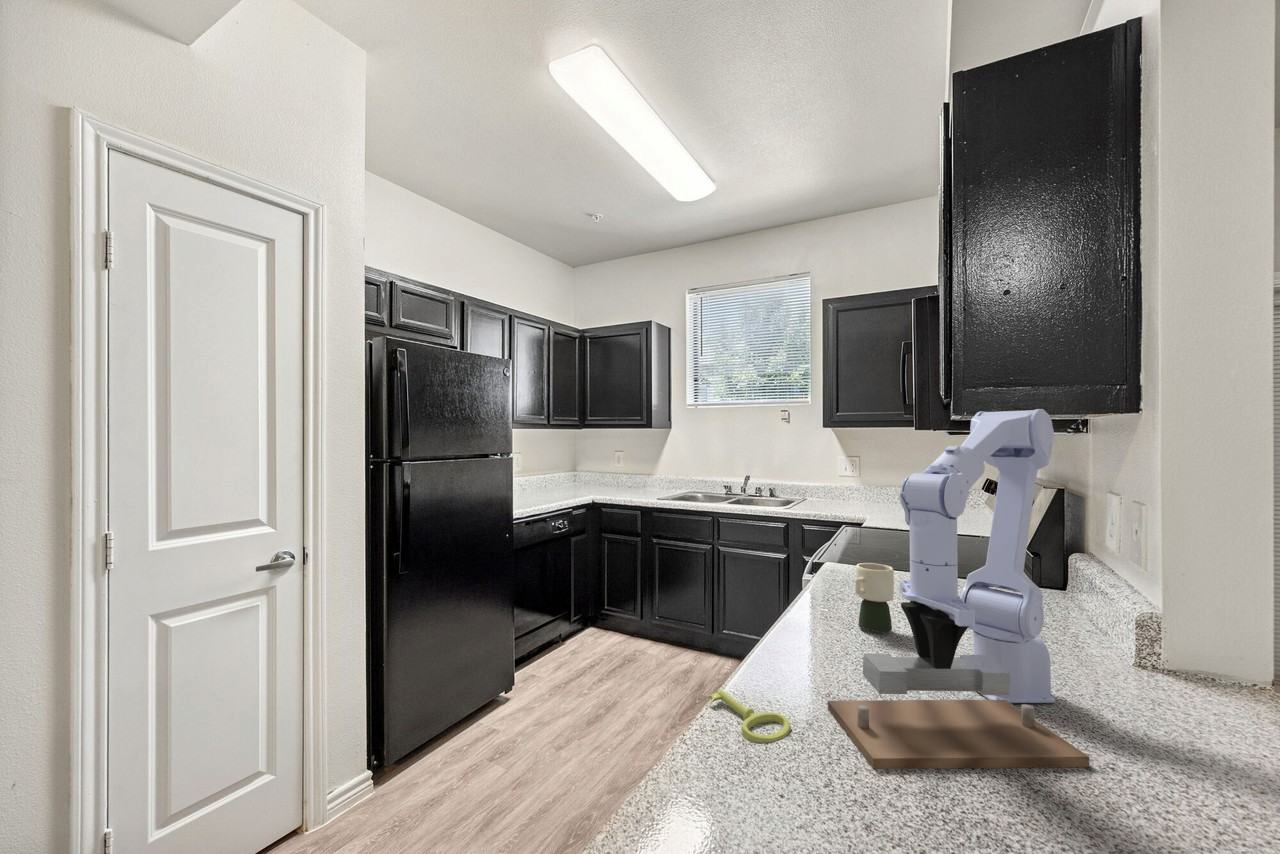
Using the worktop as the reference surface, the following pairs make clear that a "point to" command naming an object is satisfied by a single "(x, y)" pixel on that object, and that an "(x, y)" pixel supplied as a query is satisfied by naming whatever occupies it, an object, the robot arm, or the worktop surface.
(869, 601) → the character mug
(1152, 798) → the worktop surface
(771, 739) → the key
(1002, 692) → the grey stepped bar
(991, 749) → the rack board
